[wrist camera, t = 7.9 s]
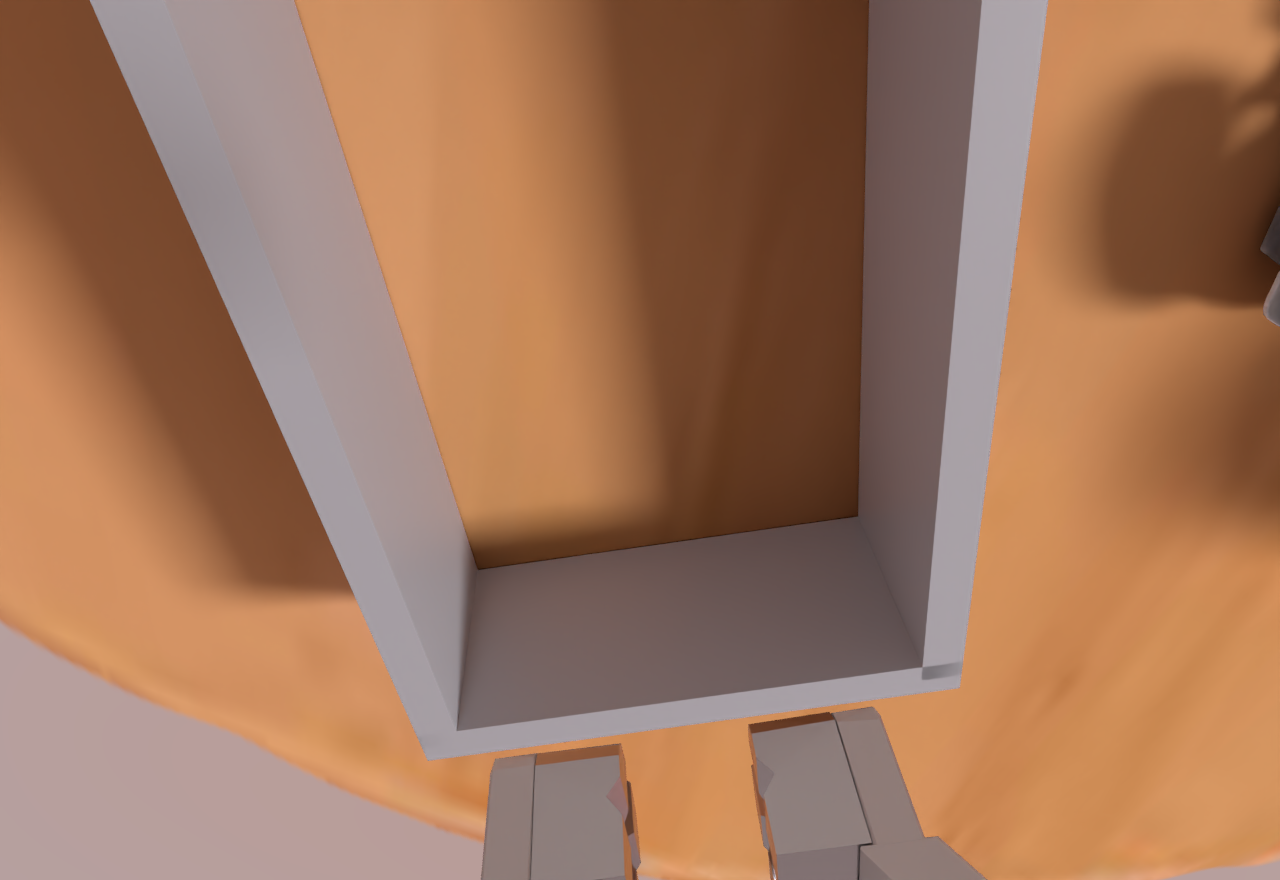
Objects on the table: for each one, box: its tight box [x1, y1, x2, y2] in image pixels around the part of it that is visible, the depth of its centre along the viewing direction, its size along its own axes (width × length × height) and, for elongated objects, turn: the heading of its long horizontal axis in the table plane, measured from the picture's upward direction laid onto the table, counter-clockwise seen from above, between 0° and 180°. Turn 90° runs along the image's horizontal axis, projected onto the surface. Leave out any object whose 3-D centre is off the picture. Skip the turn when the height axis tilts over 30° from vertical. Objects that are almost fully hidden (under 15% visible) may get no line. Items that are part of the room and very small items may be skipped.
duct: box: [90, 0, 1048, 761], centre depth 22 cm, size 26×16×7 cm, turn 7°
